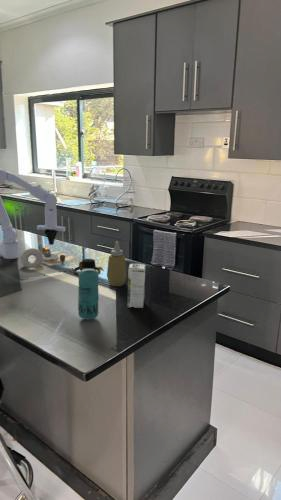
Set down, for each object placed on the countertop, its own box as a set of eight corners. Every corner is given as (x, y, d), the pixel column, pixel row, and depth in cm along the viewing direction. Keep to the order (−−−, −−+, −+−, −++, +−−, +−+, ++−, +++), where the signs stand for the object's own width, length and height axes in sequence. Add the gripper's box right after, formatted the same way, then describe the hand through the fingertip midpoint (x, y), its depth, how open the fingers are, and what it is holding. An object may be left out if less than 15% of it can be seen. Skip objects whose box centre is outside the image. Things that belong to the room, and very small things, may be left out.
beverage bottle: (79, 315, 123) (78, 256, 118) (99, 315, 124) (99, 256, 119) (77, 324, 117) (76, 262, 112) (98, 323, 118) (98, 262, 113)
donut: (43, 267, 174) (42, 246, 172) (44, 269, 171) (43, 248, 169) (20, 269, 171) (19, 248, 168) (21, 271, 168) (20, 249, 165)
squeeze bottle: (129, 283, 156) (130, 241, 152) (120, 289, 149) (121, 245, 145) (112, 280, 159) (113, 238, 155) (103, 285, 152) (103, 242, 148)
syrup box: (128, 301, 136) (128, 263, 133) (144, 302, 136) (145, 263, 133) (127, 307, 131) (127, 267, 127) (143, 308, 131) (145, 268, 127)
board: (28, 259, 186) (28, 249, 185) (58, 254, 198) (57, 244, 197) (49, 268, 172) (49, 257, 171) (80, 262, 184) (80, 251, 183)
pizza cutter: (58, 260, 180) (58, 253, 179) (37, 261, 177) (36, 254, 177) (57, 252, 194) (57, 246, 193) (37, 253, 192) (37, 246, 191)
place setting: (72, 279, 160) (72, 266, 159) (57, 267, 177) (57, 255, 175) (109, 274, 169) (109, 261, 167) (92, 263, 186) (92, 251, 184)
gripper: (33, 217, 184) (34, 244, 187) (61, 219, 181) (61, 247, 184) (40, 215, 190) (41, 241, 194) (66, 217, 187) (67, 244, 191)
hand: (51, 244), depth 189 cm, fingers closed
